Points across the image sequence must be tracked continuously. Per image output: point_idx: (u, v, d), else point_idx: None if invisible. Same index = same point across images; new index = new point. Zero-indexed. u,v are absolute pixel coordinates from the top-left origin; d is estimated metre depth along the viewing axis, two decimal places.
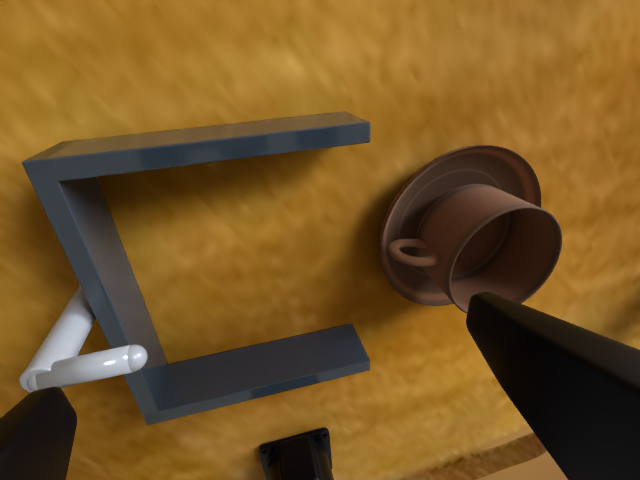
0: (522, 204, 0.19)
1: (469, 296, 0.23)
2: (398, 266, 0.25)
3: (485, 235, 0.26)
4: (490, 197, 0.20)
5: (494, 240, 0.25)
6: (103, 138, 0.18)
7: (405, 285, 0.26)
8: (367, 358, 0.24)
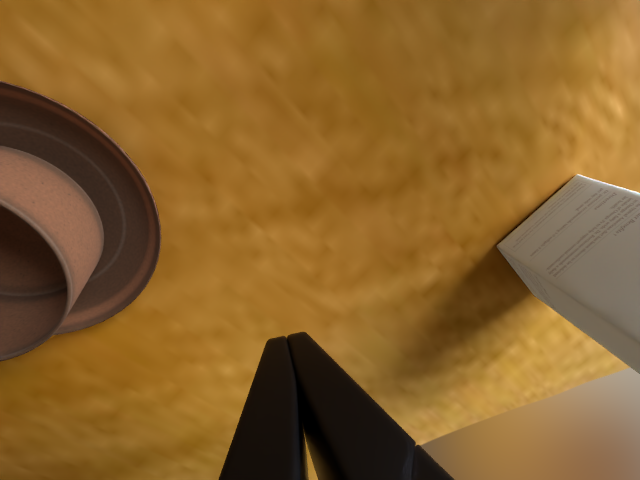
0: None
1: (4, 328, 0.15)
2: None
3: None
4: None
5: None
6: None
7: None
8: None
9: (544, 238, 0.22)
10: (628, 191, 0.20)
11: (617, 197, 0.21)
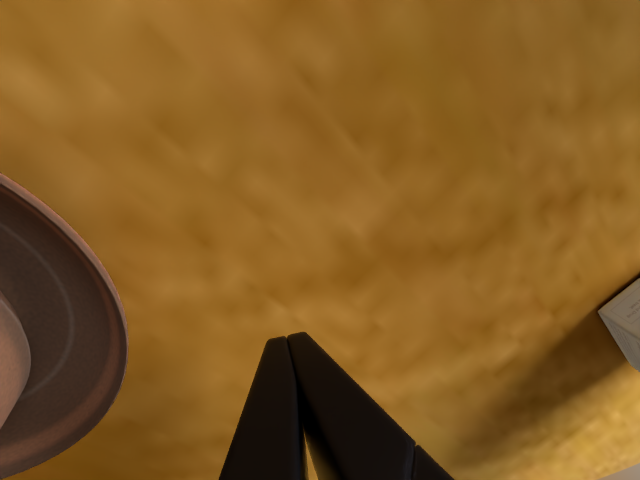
0: None
1: None
2: None
3: None
4: None
5: None
6: None
7: None
8: None
9: None
10: None
11: None
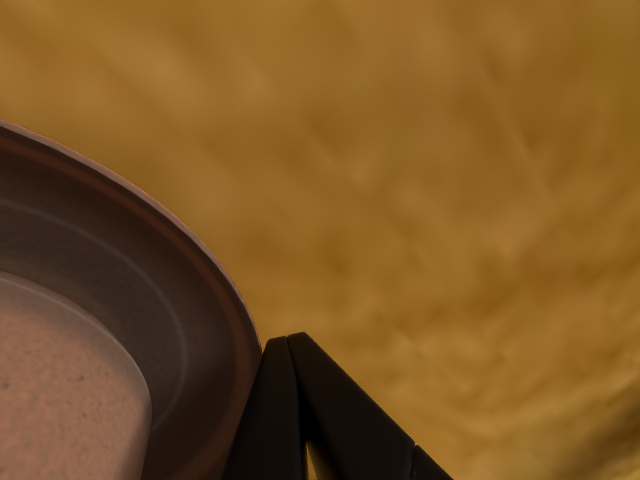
0: None
1: None
2: None
3: None
4: None
5: None
6: None
7: None
8: None
9: None
10: None
11: None
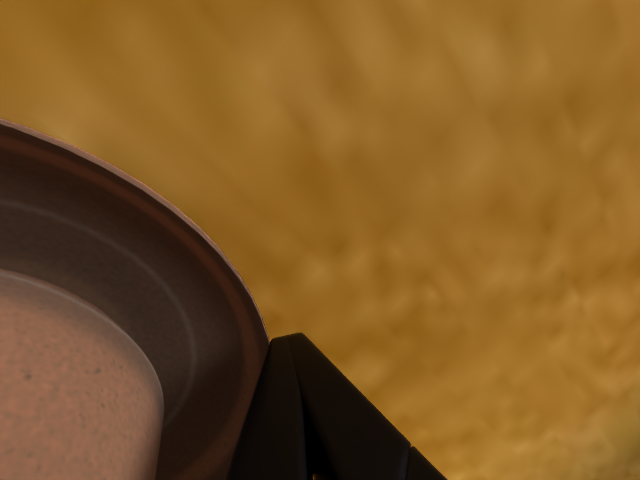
0: None
1: None
2: None
3: None
4: None
5: None
6: None
7: None
8: None
9: None
10: None
11: None
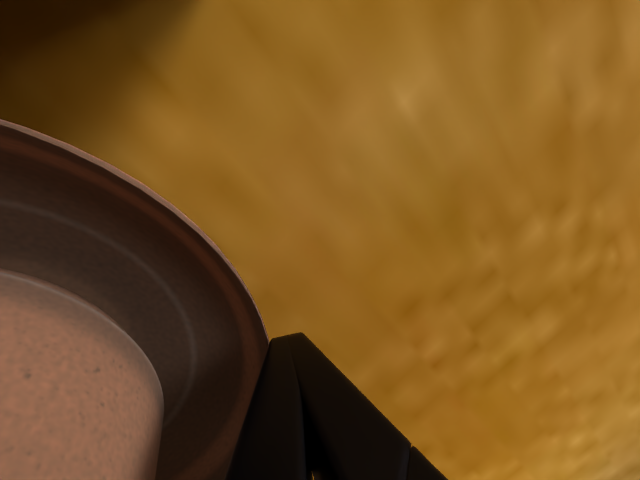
0: None
1: None
2: None
3: None
4: None
5: None
6: None
7: None
8: None
9: None
10: None
11: None
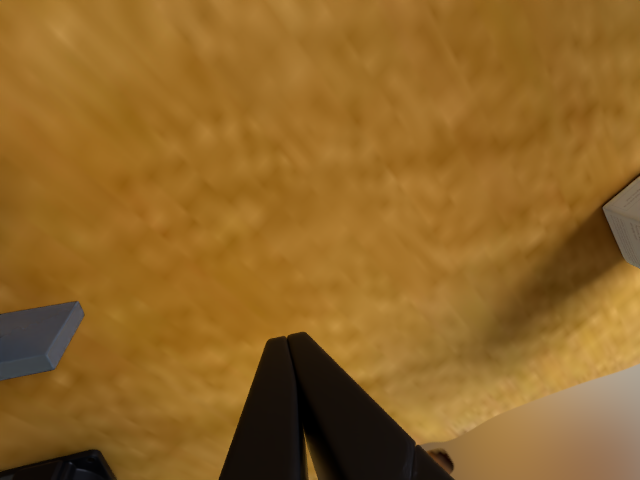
0: None
1: None
2: None
3: None
4: None
5: None
6: None
7: None
8: (45, 351, 0.16)
9: None
10: None
11: None
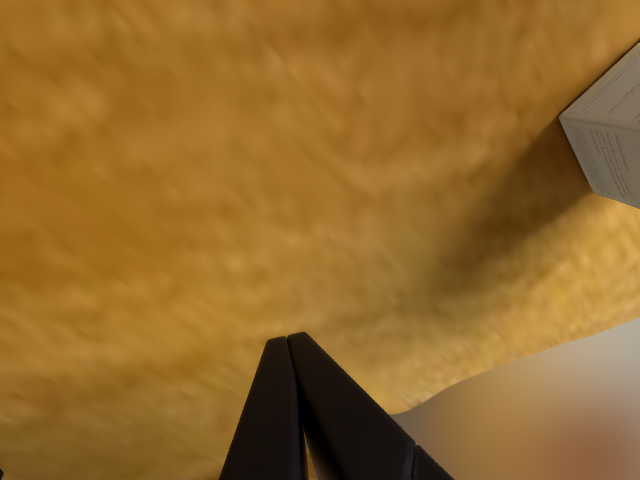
0: None
1: None
2: None
3: None
4: None
5: None
6: None
7: None
8: None
9: (626, 90, 0.18)
10: None
11: None
